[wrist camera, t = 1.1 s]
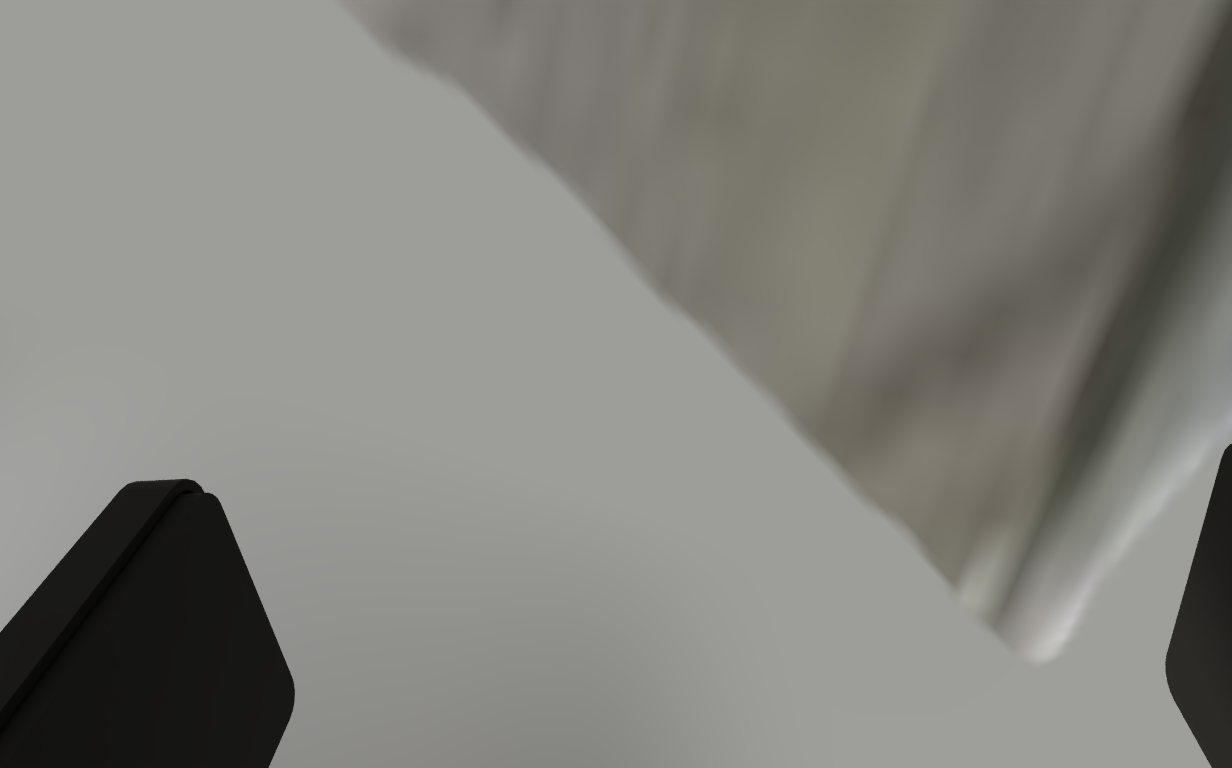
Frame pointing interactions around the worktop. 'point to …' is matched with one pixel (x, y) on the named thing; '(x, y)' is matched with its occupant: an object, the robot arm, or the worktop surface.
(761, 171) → the worktop surface
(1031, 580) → the worktop surface
